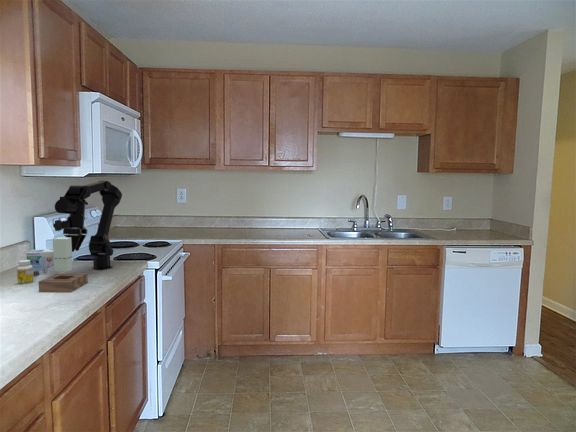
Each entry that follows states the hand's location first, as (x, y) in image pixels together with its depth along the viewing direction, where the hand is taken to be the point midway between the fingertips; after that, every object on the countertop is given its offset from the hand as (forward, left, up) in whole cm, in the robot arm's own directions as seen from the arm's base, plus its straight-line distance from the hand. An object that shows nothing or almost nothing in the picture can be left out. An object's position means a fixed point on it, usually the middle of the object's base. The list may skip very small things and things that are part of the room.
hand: (74, 251), depth 174 cm
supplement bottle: (+17, -8, -12) cm, 22 cm away
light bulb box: (+5, -18, -12) cm, 22 cm away
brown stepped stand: (+12, +11, -12) cm, 20 cm away
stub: (+11, +11, -4) cm, 17 cm away
